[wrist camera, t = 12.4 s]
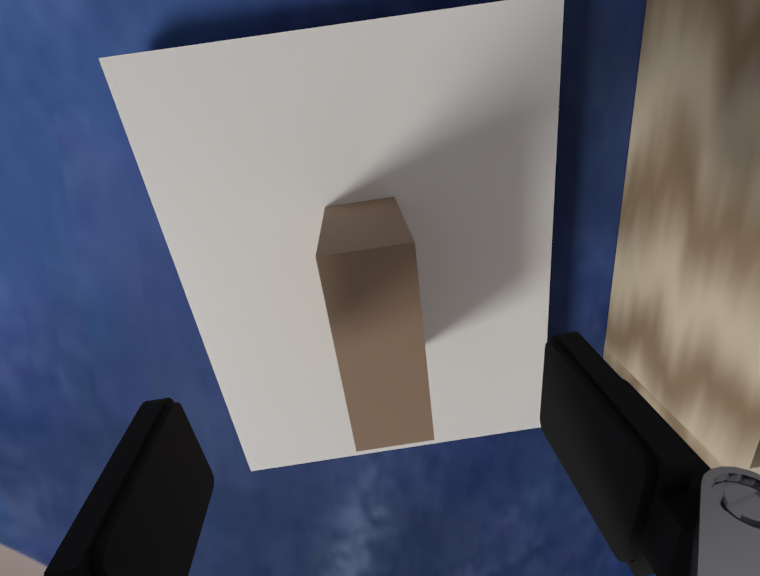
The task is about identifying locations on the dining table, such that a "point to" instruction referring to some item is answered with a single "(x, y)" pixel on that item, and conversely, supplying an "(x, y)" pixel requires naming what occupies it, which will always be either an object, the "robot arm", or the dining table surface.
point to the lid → (360, 220)
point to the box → (694, 229)
